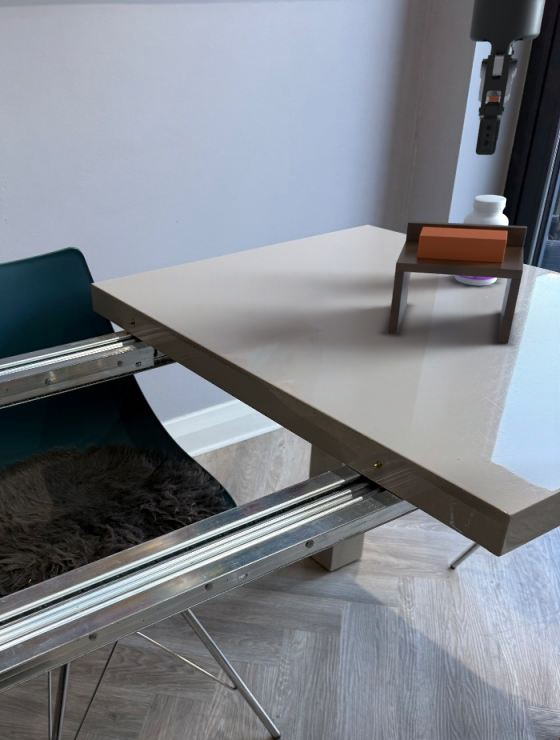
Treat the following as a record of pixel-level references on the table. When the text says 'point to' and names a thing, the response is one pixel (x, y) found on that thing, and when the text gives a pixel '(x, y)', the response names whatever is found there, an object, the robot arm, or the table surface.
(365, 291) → the table surface
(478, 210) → the supplement bottle
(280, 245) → the table surface
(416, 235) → the shelf
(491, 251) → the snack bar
